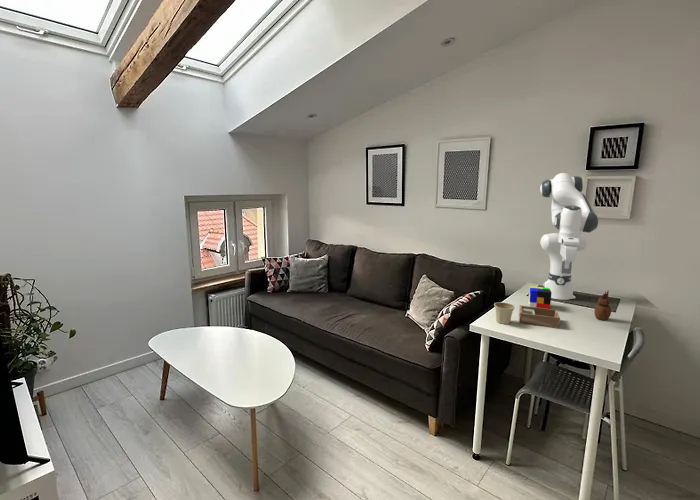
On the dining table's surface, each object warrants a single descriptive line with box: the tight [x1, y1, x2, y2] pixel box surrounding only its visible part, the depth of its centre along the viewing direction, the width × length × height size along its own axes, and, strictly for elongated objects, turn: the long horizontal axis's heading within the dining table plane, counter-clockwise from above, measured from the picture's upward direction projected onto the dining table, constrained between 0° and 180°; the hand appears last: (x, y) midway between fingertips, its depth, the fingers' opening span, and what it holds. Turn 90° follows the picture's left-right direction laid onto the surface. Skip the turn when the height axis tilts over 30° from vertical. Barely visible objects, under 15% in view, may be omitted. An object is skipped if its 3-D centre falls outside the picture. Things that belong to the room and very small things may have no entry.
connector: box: [560, 258, 573, 275], centre depth 178 cm, size 4×4×7 cm
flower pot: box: [493, 301, 516, 325], centre depth 178 cm, size 9×9×9 cm
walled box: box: [518, 304, 561, 329], centre depth 180 cm, size 13×17×5 cm
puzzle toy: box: [527, 285, 552, 309], centre depth 202 cm, size 10×10×10 cm
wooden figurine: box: [593, 290, 612, 321], centre depth 182 cm, size 7×6×15 cm
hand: (565, 267), depth 178 cm, fingers closed on connector, 4 cm apart
